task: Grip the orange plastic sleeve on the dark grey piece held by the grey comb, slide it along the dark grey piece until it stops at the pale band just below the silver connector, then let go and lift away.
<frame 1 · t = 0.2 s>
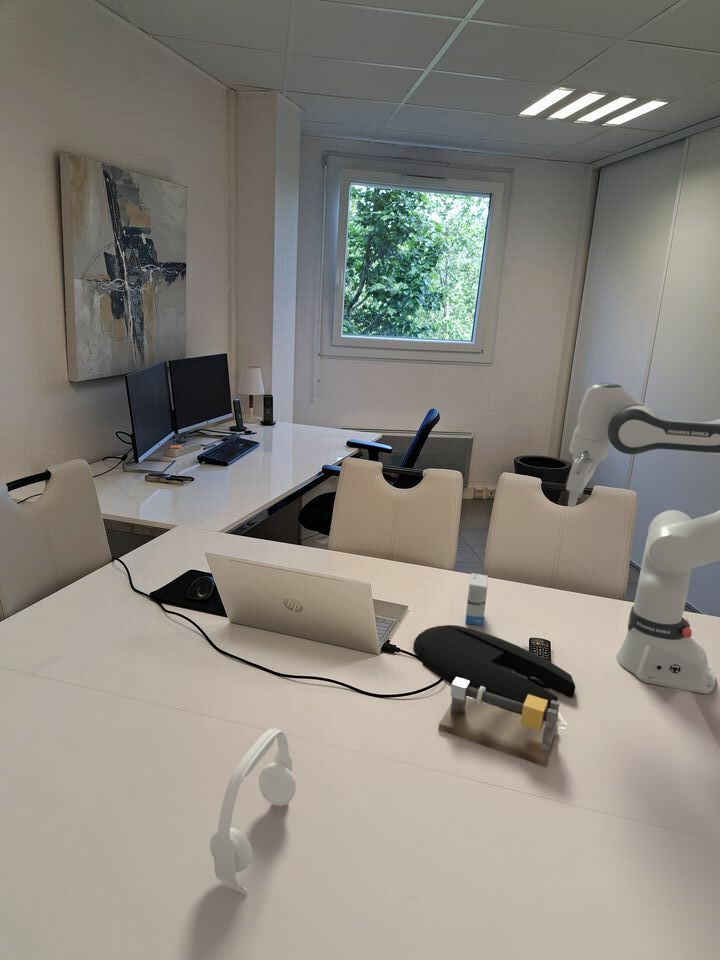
hand: (574, 500, 164), 39 cm above the table, tool pointing down, fingers open, 8 cm apart
ink box: (474, 618, 184), on the table
cord board: (498, 731, 136), on the table
black flat notched piece: (486, 670, 160), on the table
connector: (459, 696, 138), point 5 cm above the table
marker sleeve: (534, 712, 132), point 7 cm above the table, slide at 0.0 cm
headset: (256, 842, 106), on the table
dark grey piece: (510, 704, 134), point 7 cm above the table
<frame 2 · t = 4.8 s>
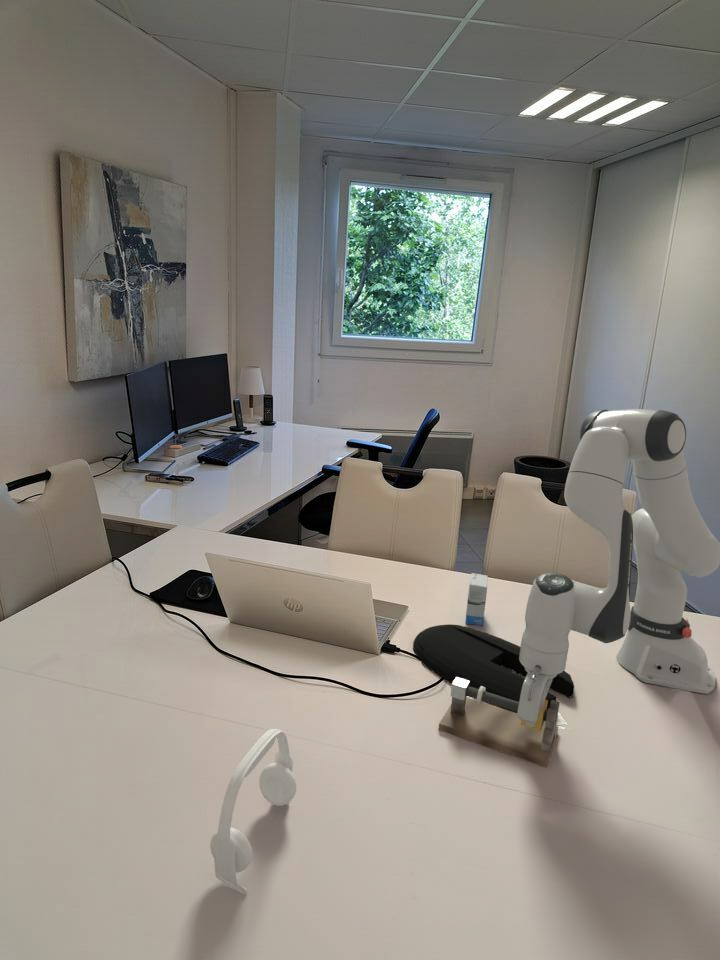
hand: (533, 716, 132), 6 cm above the table, tool pointing down, fingers closed on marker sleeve, 4 cm apart
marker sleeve: (534, 712, 132), point 7 cm above the table, slide at 0.0 cm, touching gripper
everything else where it was.
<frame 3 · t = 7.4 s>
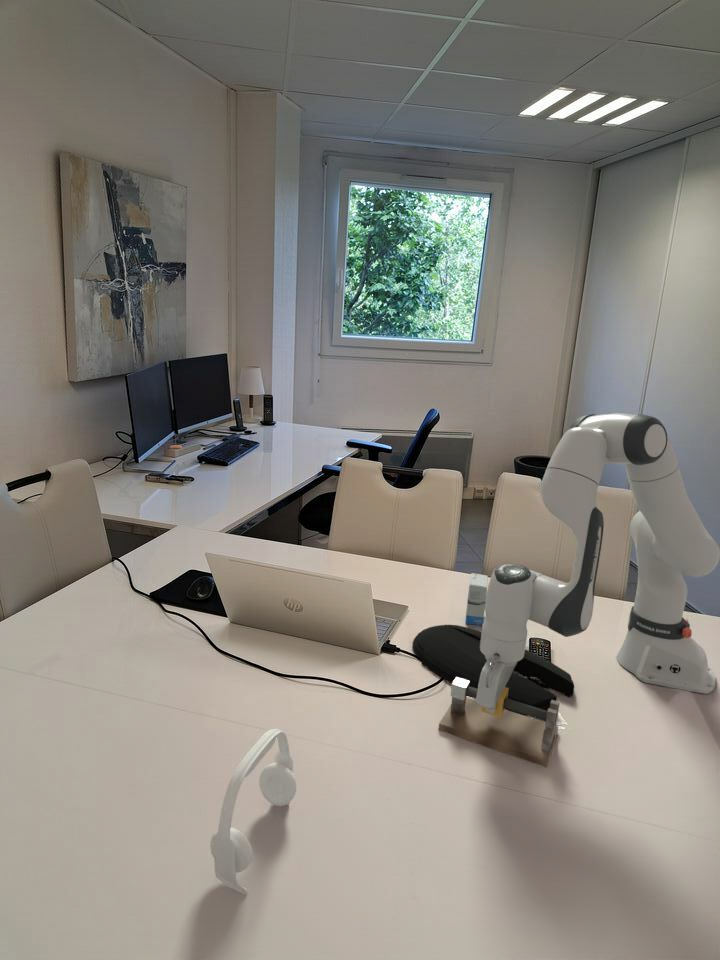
hand: (494, 703, 135), 6 cm above the table, tool pointing down, fingers closed on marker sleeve, 4 cm apart
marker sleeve: (495, 699, 135), point 7 cm above the table, slide at 8.0 cm, touching gripper
everything else where it was.
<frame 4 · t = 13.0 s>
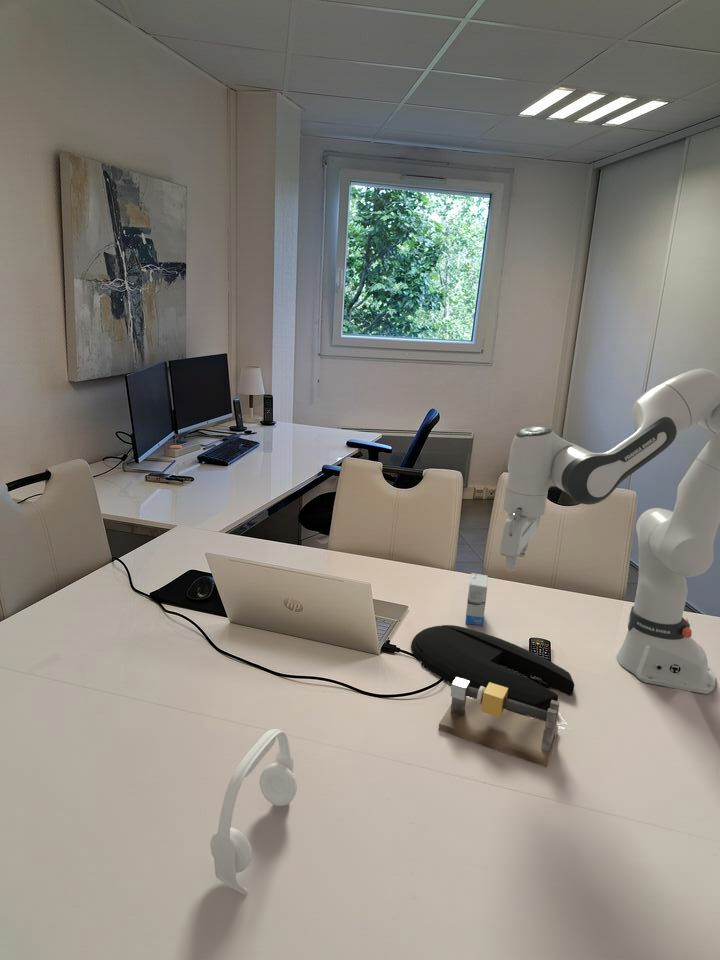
hand: (516, 562, 143), 31 cm above the table, tool pointing down, fingers open, 8 cm apart
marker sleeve: (494, 699, 135), point 7 cm above the table, slide at 8.1 cm
everything else where it was.
at the end: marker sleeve slide at 8.1 cm; the gripper is holding nothing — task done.
